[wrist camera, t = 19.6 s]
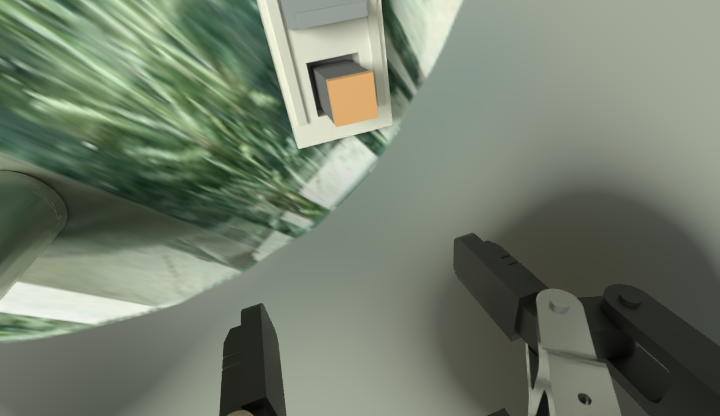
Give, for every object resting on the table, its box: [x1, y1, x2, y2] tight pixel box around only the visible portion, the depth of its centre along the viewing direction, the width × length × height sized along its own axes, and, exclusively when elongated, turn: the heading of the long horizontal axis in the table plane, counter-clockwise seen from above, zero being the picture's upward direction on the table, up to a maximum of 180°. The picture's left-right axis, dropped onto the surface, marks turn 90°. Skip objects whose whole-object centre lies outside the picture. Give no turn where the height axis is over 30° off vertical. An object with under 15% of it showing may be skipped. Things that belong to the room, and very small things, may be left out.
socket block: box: [257, 0, 393, 149], centre depth 35 cm, size 12×18×4 cm, turn 9°
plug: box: [310, 59, 378, 127], centre depth 34 cm, size 4×4×10 cm
